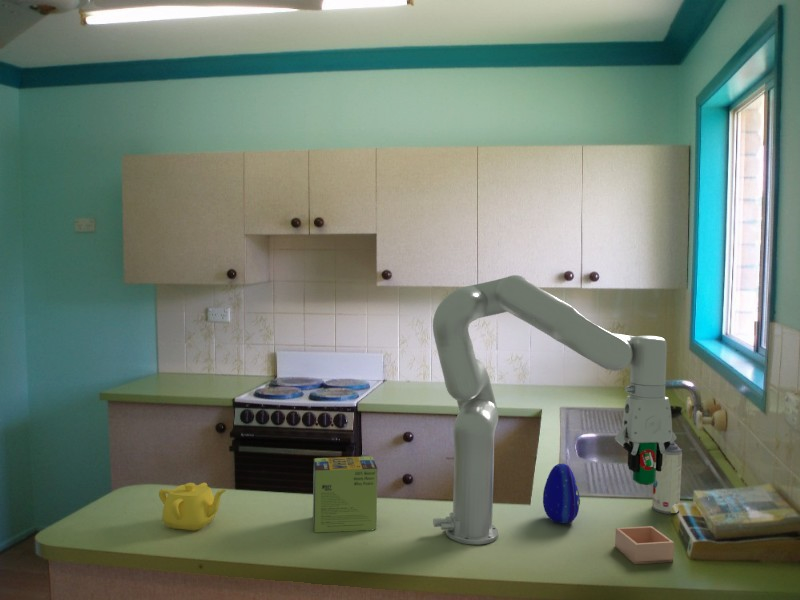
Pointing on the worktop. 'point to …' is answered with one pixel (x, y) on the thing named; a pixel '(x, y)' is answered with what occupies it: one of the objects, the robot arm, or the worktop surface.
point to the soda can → (646, 464)
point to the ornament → (561, 495)
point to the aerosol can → (668, 481)
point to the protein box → (344, 494)
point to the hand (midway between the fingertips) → (644, 469)
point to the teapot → (189, 506)
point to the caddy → (644, 545)
